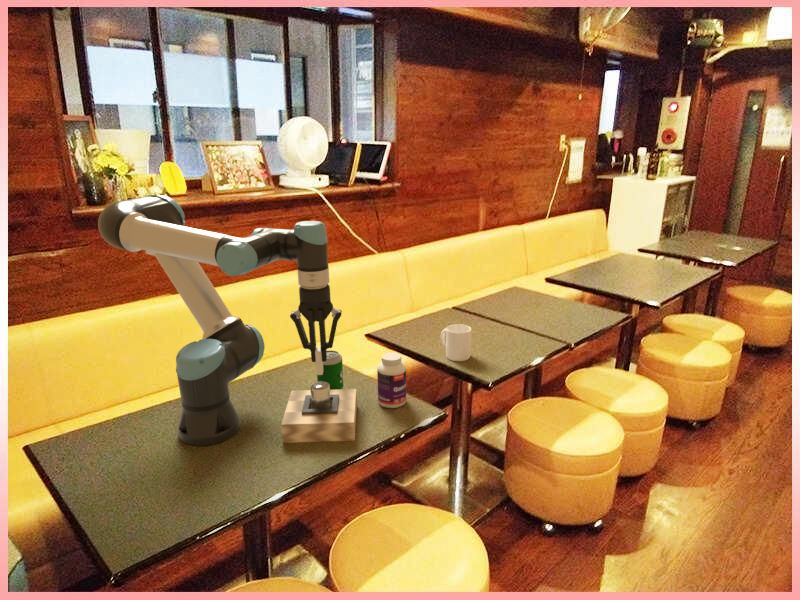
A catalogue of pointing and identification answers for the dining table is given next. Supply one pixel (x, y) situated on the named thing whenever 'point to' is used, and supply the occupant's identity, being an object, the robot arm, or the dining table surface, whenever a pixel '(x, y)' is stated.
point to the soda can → (332, 370)
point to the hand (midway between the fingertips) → (320, 372)
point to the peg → (320, 395)
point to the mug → (457, 342)
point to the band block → (320, 418)
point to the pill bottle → (391, 381)
